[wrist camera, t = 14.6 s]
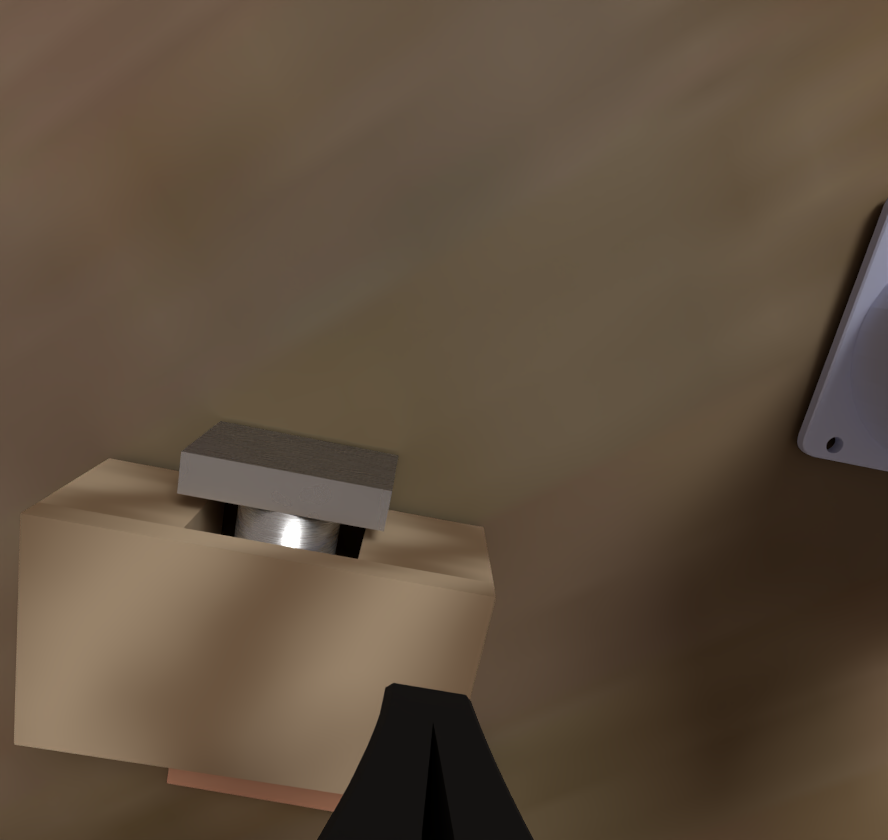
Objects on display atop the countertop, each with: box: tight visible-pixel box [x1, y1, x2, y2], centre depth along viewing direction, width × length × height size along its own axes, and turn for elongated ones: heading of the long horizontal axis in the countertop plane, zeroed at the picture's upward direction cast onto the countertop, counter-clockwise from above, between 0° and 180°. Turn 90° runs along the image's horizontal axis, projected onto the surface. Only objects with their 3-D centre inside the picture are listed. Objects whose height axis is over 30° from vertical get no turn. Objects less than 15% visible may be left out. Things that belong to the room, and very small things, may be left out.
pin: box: [177, 421, 398, 555], centre depth 19 cm, size 8×6×3 cm
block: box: [14, 458, 496, 794], centre depth 18 cm, size 12×7×4 cm, turn 78°
